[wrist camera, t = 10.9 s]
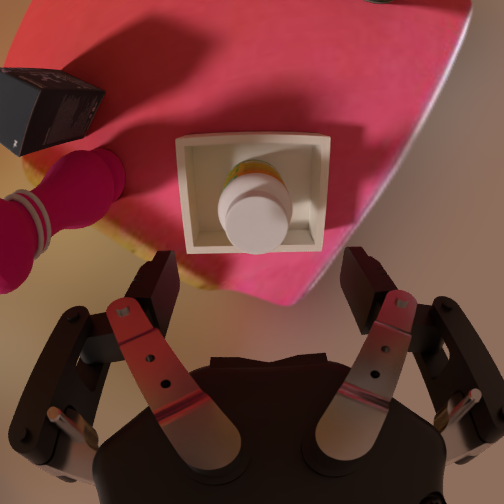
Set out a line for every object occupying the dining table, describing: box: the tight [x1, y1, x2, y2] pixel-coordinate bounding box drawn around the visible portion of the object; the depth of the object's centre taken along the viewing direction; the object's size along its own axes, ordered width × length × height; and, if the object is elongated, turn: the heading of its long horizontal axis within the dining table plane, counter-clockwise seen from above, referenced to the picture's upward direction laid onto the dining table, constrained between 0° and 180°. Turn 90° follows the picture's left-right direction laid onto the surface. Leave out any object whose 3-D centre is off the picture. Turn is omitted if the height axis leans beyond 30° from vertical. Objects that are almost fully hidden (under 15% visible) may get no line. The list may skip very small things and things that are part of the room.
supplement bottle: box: [218, 159, 293, 254], centre depth 21 cm, size 5×5×10 cm
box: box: [0, 68, 105, 157], centre depth 16 cm, size 8×6×11 cm
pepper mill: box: [0, 149, 125, 294], centre depth 16 cm, size 7×7×20 cm
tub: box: [175, 131, 331, 254], centre depth 24 cm, size 10×12×4 cm
